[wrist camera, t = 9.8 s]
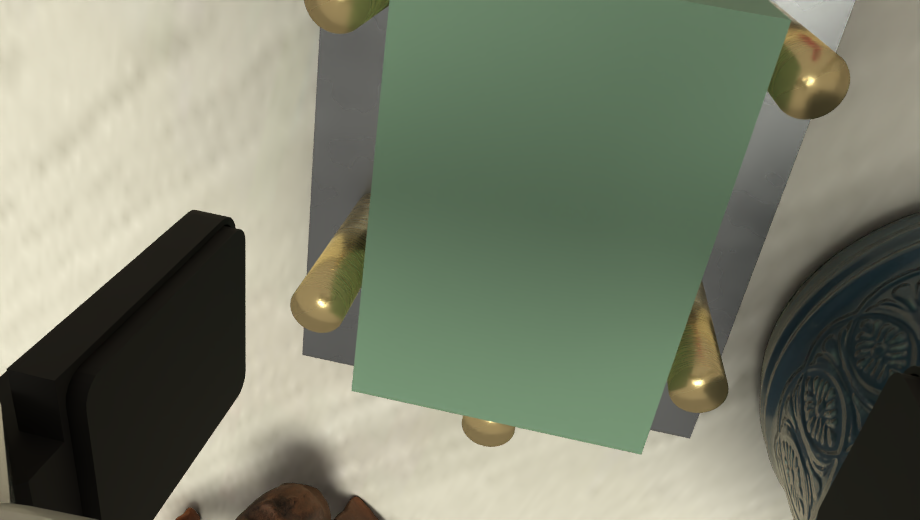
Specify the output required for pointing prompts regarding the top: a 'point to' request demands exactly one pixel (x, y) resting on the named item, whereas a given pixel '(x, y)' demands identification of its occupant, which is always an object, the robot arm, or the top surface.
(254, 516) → the brown curved shards
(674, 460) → the top surface
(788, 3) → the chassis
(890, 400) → the robot arm
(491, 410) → the green boxy piece
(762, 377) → the canister
